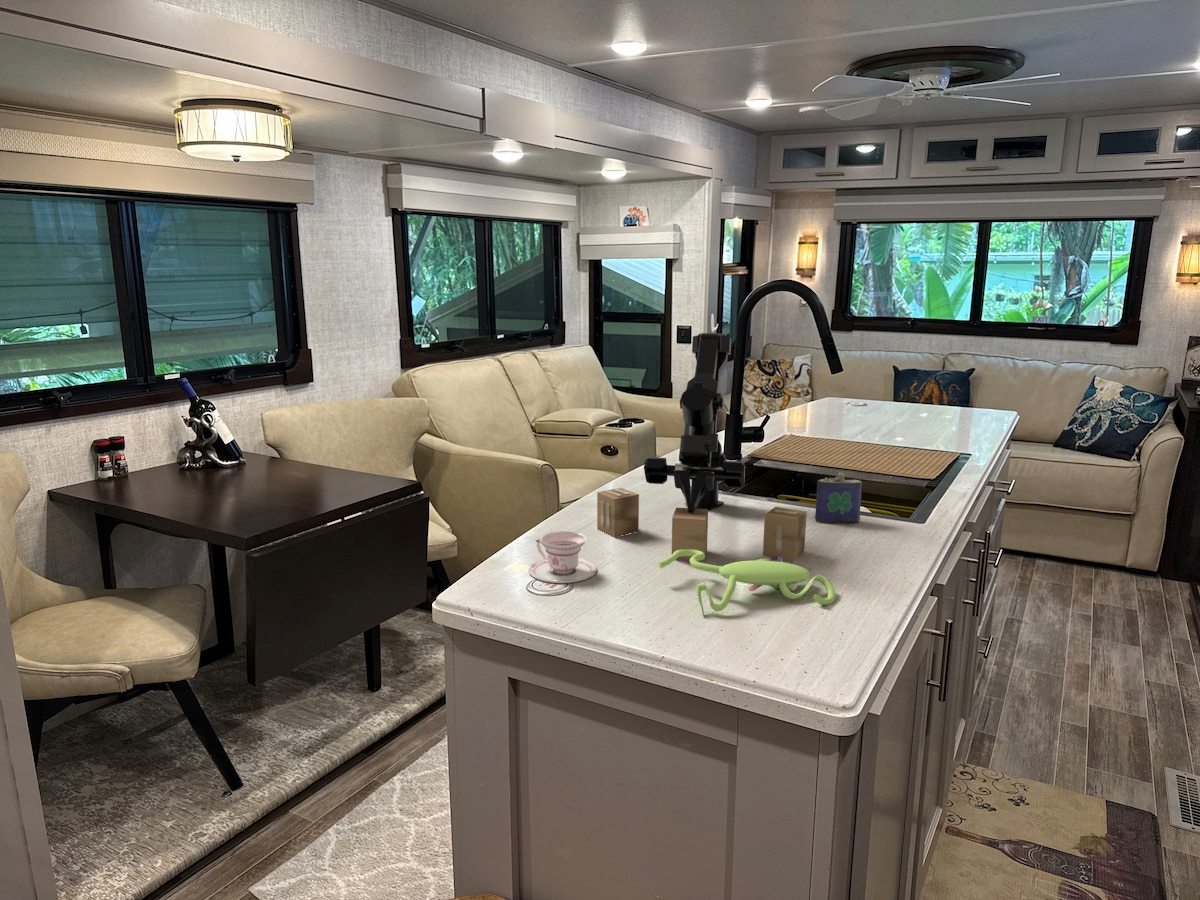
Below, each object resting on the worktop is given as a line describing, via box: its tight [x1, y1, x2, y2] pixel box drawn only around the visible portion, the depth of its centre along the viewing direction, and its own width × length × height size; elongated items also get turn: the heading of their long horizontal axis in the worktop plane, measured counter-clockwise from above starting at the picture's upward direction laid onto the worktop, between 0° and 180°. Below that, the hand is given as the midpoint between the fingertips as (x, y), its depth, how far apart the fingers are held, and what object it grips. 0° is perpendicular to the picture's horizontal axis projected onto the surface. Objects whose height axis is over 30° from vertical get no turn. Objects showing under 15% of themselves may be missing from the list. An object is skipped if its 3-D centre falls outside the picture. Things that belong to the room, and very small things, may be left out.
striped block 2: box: [762, 506, 807, 562], centre depth 152 cm, size 6×6×8 cm
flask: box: [814, 472, 863, 525], centre depth 171 cm, size 9×3×11 cm, turn 87°
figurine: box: [658, 549, 836, 618], centre depth 135 cm, size 18×27×6 cm
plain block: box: [671, 507, 709, 562], centre depth 151 cm, size 6×6×8 cm
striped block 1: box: [596, 487, 640, 538], centre depth 165 cm, size 6×6×8 cm
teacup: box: [528, 531, 598, 584], centre depth 143 cm, size 12×12×6 cm
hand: (690, 511), depth 150 cm, fingers closed
